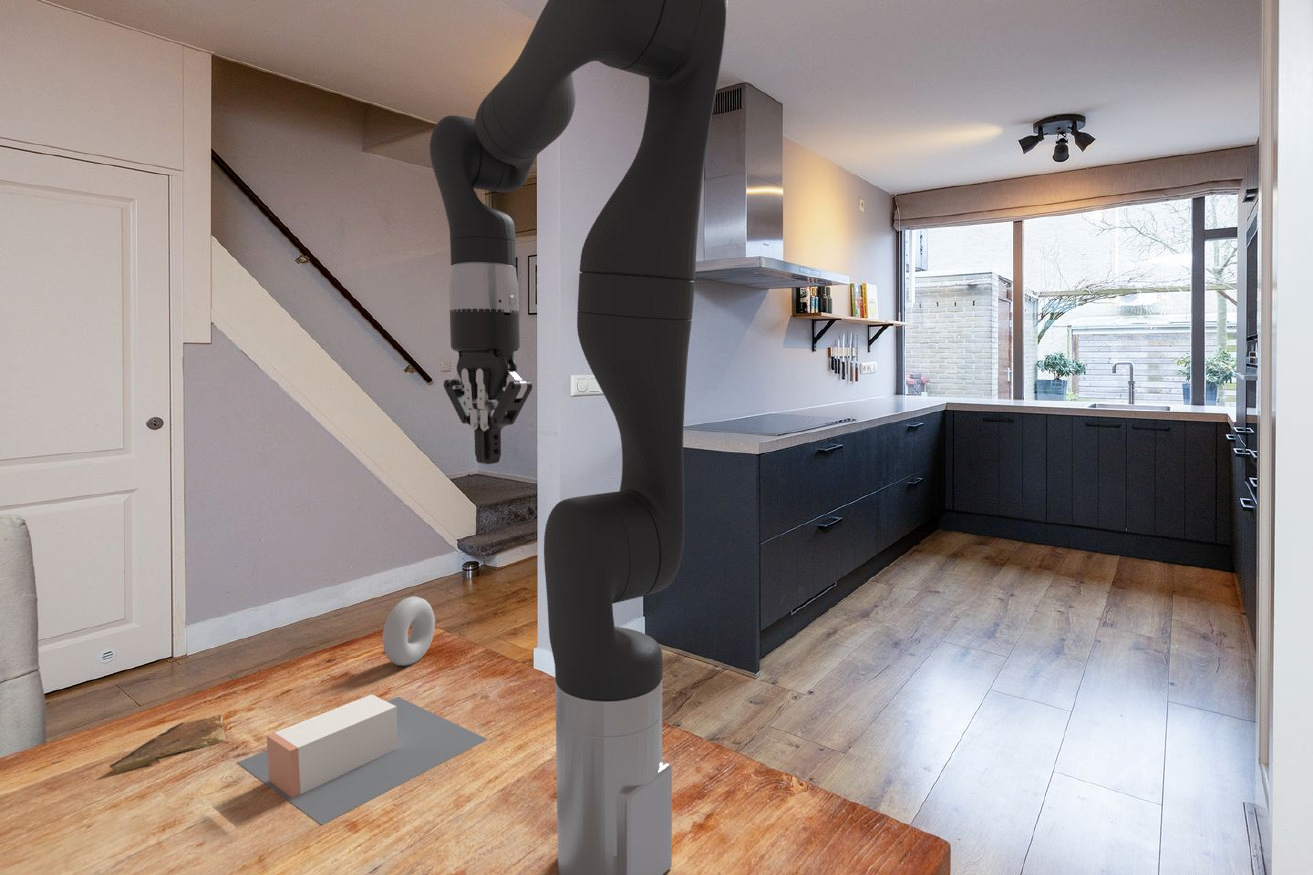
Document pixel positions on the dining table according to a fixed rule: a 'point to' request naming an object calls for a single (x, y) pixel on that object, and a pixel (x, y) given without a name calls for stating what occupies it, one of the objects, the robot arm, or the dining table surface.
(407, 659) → the donut
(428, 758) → the mat
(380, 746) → the block
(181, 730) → the shard
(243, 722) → the dining table surface
